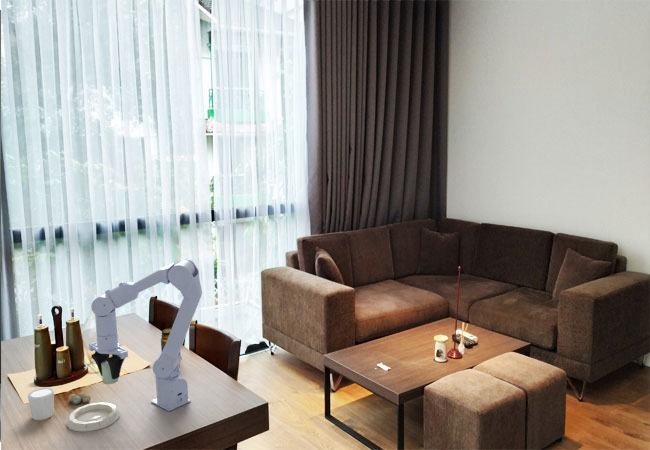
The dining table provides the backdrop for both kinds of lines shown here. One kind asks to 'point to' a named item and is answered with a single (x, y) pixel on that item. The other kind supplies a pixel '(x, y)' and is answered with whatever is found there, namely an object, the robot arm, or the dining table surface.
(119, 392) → the dining table surface
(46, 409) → the white cylinder
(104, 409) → the round bowl
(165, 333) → the condiment
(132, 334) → the dining table surface
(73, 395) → the bead pile
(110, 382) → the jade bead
